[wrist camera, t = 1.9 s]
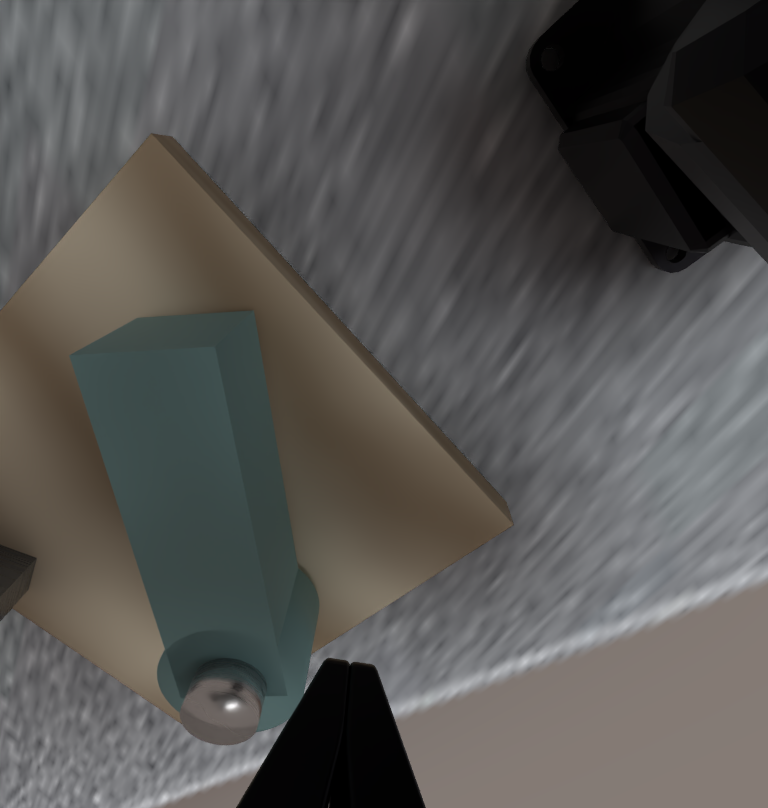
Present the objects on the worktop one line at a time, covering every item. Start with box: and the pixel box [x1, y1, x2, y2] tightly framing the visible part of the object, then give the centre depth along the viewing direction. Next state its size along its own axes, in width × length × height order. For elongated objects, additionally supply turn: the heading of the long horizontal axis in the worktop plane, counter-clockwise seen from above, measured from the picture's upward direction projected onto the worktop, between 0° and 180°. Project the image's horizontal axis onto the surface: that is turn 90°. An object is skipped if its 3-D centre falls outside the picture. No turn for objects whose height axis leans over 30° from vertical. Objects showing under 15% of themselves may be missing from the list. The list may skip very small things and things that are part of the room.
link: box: [69, 310, 319, 745], centre depth 14 cm, size 12×4×4 cm, turn 4°
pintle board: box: [0, 133, 514, 724], centre depth 14 cm, size 15×14×6 cm
